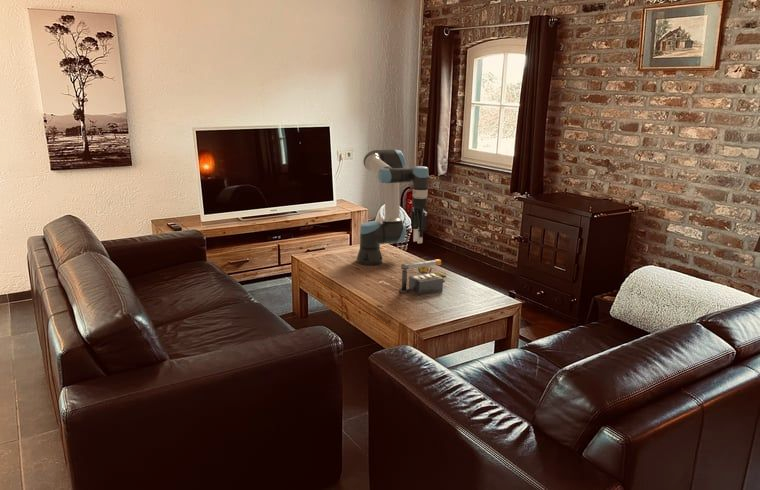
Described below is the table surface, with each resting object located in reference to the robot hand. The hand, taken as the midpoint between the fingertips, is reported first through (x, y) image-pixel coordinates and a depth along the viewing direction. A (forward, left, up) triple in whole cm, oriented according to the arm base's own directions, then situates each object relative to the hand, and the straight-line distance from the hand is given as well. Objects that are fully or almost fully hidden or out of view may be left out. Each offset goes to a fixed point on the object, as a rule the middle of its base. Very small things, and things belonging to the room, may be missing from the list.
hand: (417, 242), depth 301 cm
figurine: (-5, +13, -23) cm, 27 cm away
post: (+8, -12, -23) cm, 27 cm away
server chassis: (+11, -1, -23) cm, 25 cm away
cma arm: (+8, -2, -11) cm, 14 cm away
